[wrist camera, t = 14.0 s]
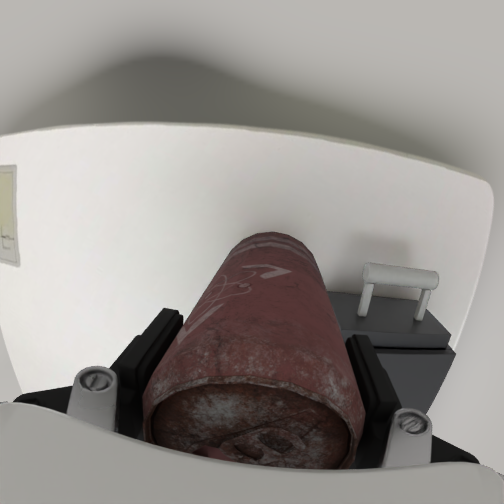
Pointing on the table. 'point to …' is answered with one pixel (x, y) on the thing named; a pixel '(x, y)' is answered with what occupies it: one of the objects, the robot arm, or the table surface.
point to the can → (259, 367)
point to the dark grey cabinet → (416, 373)
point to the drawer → (391, 311)
